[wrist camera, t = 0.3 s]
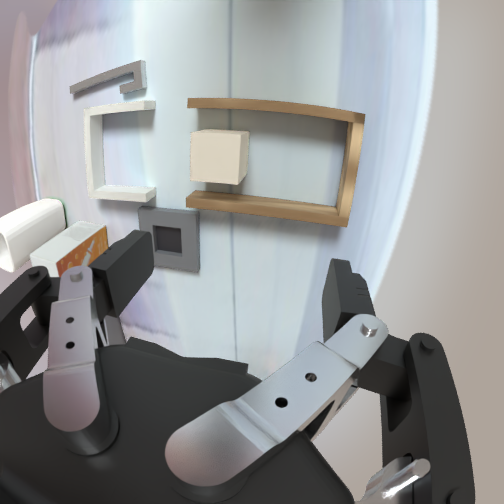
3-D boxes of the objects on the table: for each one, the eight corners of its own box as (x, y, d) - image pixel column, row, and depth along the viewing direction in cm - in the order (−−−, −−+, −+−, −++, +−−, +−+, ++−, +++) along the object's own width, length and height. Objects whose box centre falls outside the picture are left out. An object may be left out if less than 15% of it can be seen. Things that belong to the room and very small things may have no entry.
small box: (112, 266, 46) (68, 311, 35) (85, 259, 47) (41, 299, 35) (106, 224, 42) (55, 263, 31) (79, 219, 43) (27, 254, 32)
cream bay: (96, 107, 34) (83, 108, 31) (155, 100, 33) (144, 100, 30) (100, 192, 40) (88, 198, 37) (156, 195, 39) (146, 202, 36)
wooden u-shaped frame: (198, 99, 32) (187, 98, 29) (359, 113, 30) (365, 114, 27) (195, 198, 38) (186, 207, 35) (343, 217, 36) (346, 227, 33)
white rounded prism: (67, 195, 41) (4, 230, 28) (72, 233, 45) (16, 275, 32) (42, 192, 42) (-17, 224, 29) (47, 228, 45) (-6, 265, 32)
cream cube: (206, 129, 34) (190, 132, 29) (249, 131, 33) (240, 134, 28) (205, 170, 36) (190, 180, 31) (246, 174, 36) (237, 184, 31)
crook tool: (74, 86, 32) (69, 86, 31) (145, 61, 30) (140, 60, 29) (76, 109, 34) (71, 110, 33) (146, 87, 32) (142, 87, 31)
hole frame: (141, 206, 40) (137, 209, 39) (198, 211, 39) (196, 214, 38) (147, 259, 44) (143, 263, 43) (199, 268, 43) (197, 272, 42)
